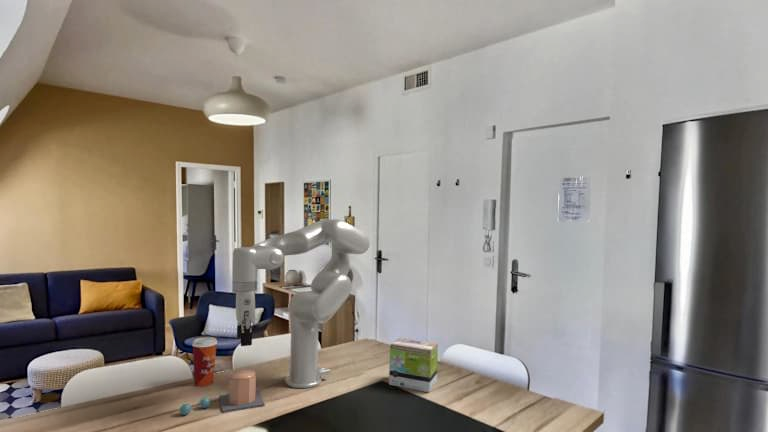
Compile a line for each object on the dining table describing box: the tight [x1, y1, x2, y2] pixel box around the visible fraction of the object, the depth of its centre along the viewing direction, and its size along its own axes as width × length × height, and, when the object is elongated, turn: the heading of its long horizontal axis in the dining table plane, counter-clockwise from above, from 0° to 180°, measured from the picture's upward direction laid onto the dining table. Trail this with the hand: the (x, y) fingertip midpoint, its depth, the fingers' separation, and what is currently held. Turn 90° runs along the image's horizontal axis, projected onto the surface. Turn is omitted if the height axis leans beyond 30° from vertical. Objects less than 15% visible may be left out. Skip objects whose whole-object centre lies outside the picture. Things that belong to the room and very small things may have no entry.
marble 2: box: [199, 397, 211, 409], centre depth 127 cm, size 3×3×3 cm
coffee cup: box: [191, 336, 218, 387], centre depth 147 cm, size 8×8×15 cm
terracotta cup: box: [228, 369, 257, 405], centre depth 132 cm, size 8×8×8 cm
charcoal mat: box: [219, 389, 266, 413], centre depth 132 cm, size 12×12×1 cm
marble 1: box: [179, 403, 192, 416], centre depth 123 cm, size 3×3×3 cm
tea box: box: [388, 337, 439, 393], centre depth 150 cm, size 15×10×15 cm
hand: (244, 341), depth 133 cm, fingers open, 9 cm apart
